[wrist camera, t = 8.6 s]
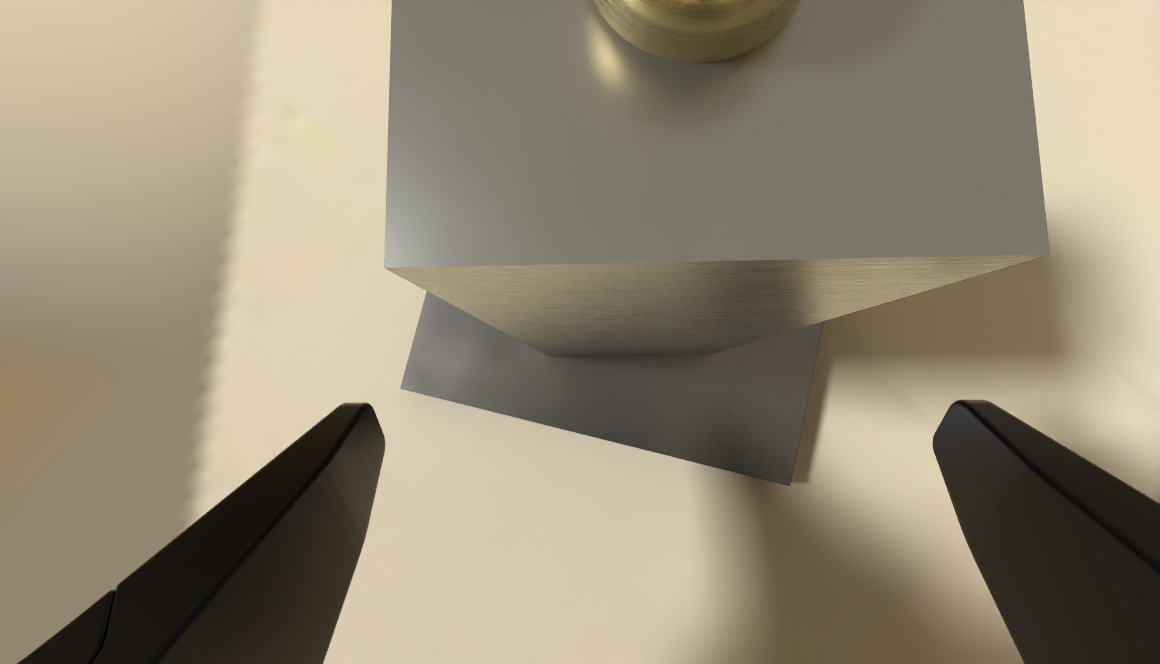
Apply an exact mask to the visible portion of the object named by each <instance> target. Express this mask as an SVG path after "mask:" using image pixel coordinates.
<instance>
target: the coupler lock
mask: <svg viewBox="0 0 1160 664" xmlns="http://www.w3.org/2000/svg"><path fill="white" fill-rule="evenodd" d="M1049 254H1050V252H1049V243H1048V233H1047V223H1046V214H1045V204H1044V195H1043V185H1042V176H1041V166H1040V157H1039V147H1038V137H1037V128H1036V118H1035V109H1034V99H1033V90H1032V80H1031V71H1030V61H1029V51H1028V42H1027V32H1026V23H1025V13H1024V4H1023V0H392V18H391V52H390V86H389V121H388V155H387V190H386V224H385V259H384V268H385V269H387V270H389V271H391V272H393V273H395V274H397V275H398V276H400V277H402V278H404V279H406V280H408V281H410V282H411V283H413V284H415V285H417V286H419V287H421V288H423V289H424V290H426V291H428V292H430V293H432V294H434V295H436V296H437V297H439V298H441V299H443V300H445V301H447V302H448V303H450V304H452V305H454V306H456V307H458V308H460V309H461V310H463V311H465V312H467V313H469V314H471V315H473V316H474V317H476V318H478V319H480V320H482V321H484V322H486V323H487V324H489V325H491V326H493V327H495V328H497V329H499V330H500V331H502V332H504V333H506V334H508V335H510V336H511V337H513V338H515V339H517V340H519V341H521V342H523V343H524V344H526V345H528V346H530V347H532V348H534V349H536V350H537V351H539V352H541V353H543V354H545V355H547V356H584V355H663V354H714V353H718V352H721V351H724V350H728V349H731V348H734V347H738V346H741V345H745V344H748V343H751V342H755V341H758V340H762V339H765V338H768V337H772V336H775V335H778V334H782V333H785V332H789V331H792V330H795V329H799V328H802V327H806V326H809V325H812V324H816V323H819V322H822V321H826V320H829V319H833V318H836V317H839V316H843V315H846V314H850V313H853V312H856V311H860V310H863V309H867V308H870V307H873V306H877V305H880V304H883V303H887V302H890V301H894V300H897V299H900V298H904V297H907V296H911V295H914V294H917V293H921V292H924V291H927V290H931V289H934V288H938V287H941V286H944V285H948V284H951V283H955V282H958V281H961V280H965V279H968V278H971V277H975V276H978V275H982V274H985V273H988V272H992V271H995V270H999V269H1002V268H1005V267H1009V266H1012V265H1015V264H1019V263H1022V262H1026V261H1029V260H1032V259H1036V258H1039V257H1043V256H1046V255H1049Z"/></svg>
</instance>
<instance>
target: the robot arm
mask: <svg viewBox="0 0 1160 664" xmlns="http://www.w3.org/2000/svg"><path fill="white" fill-rule="evenodd" d="M933 449H934V453H935V456H936V459H937V461H938V464H939V467H940V470H941V473H942V475H943V478H944V481H945V484H946V487H947V490H948V492H949V495H950V498H951V501H952V504H953V506H954V509H955V512H956V515H957V518H958V520H959V523H960V526H961V529H962V531H963V534H964V536H965V539H966V541H967V544H968V546H969V548H970V551H971V553H972V555H973V557H974V560H975V562H976V564H977V566H978V568H979V570H980V572H981V574H982V576H983V578H984V580H985V582H986V585H987V587H988V589H989V591H990V593H991V595H992V597H993V599H994V601H995V603H996V605H997V607H998V610H999V612H1000V614H1001V616H1002V618H1003V620H1004V622H1005V624H1006V626H1007V628H1008V630H1009V632H1010V634H1011V637H1012V639H1013V641H1014V643H1015V645H1016V647H1017V649H1018V651H1019V653H1020V655H1021V657H1022V659H1023V662H1024V664H1160V503H1158V502H1156V501H1155V500H1153V499H1151V498H1150V497H1148V496H1146V495H1145V494H1143V493H1141V492H1140V491H1138V490H1136V489H1135V488H1133V487H1131V486H1130V485H1128V484H1126V483H1125V482H1123V481H1121V480H1120V479H1118V478H1116V477H1115V476H1113V475H1111V474H1110V473H1108V472H1106V471H1105V470H1103V469H1101V468H1100V467H1098V466H1096V465H1095V464H1093V463H1091V462H1090V461H1088V460H1086V459H1085V458H1083V457H1081V456H1080V455H1078V454H1076V453H1075V452H1073V451H1071V450H1070V449H1068V448H1066V447H1065V446H1063V445H1061V444H1060V443H1058V442H1056V441H1055V440H1053V439H1051V438H1050V437H1048V436H1046V435H1045V434H1043V433H1041V432H1040V431H1038V430H1036V429H1035V428H1033V427H1031V426H1030V425H1028V424H1026V423H1025V422H1023V421H1021V420H1020V419H1018V418H1016V417H1015V416H1013V415H1011V414H1010V413H1008V412H1006V411H1005V410H1003V409H1001V408H1000V407H998V406H996V405H995V404H993V403H991V402H989V401H986V400H958V401H956V402H954V403H953V404H952V405H951V406H950V408H949V409H948V411H947V413H946V415H945V416H944V418H943V420H942V422H941V423H940V425H939V427H938V429H937V430H936V432H935V434H934V437H933ZM384 452H385V438H384V434H383V432H382V429H381V427H380V424H379V422H378V419H377V417H376V414H375V411H374V409H373V407H372V406H371V405H370V404H369V403H344V404H341V405H340V406H338V407H337V408H336V409H335V410H333V411H332V412H331V413H330V414H328V415H327V416H326V417H325V418H323V419H322V420H321V421H320V422H318V423H317V424H316V425H315V426H313V427H312V428H311V429H310V430H309V431H307V432H306V433H305V434H304V435H302V436H301V437H300V438H299V439H297V440H296V441H295V442H294V443H292V444H291V445H290V446H289V447H287V448H286V449H285V450H284V451H283V452H281V453H280V454H279V455H278V456H276V457H275V458H274V459H273V460H271V461H270V462H269V463H268V464H266V465H265V466H264V467H263V468H261V469H260V470H259V471H258V472H256V473H255V474H254V475H253V476H252V477H250V478H249V479H248V480H247V481H245V482H244V483H243V484H242V485H240V486H239V487H238V488H237V489H235V490H234V491H233V492H232V493H230V494H229V495H228V496H227V497H226V498H224V499H223V500H222V501H221V502H219V503H218V504H217V505H216V506H214V507H213V508H212V509H211V510H209V511H208V512H207V513H206V514H204V515H203V516H202V517H201V518H200V519H198V520H197V521H196V522H195V523H193V524H192V525H191V526H190V527H188V528H187V529H186V530H185V531H183V532H182V533H181V534H180V535H179V536H177V537H176V538H175V539H173V540H172V541H171V542H170V543H169V544H167V545H166V546H165V547H164V548H162V549H161V550H160V551H159V552H157V553H156V554H155V555H154V556H153V557H151V558H150V559H149V560H147V561H146V562H145V563H144V564H143V565H141V566H140V567H139V568H138V569H136V570H135V571H134V572H133V573H131V574H130V575H129V576H128V577H127V578H125V579H124V580H123V581H121V582H120V583H119V584H118V585H117V588H116V590H110V591H109V592H108V593H106V594H105V595H104V596H103V597H101V598H100V599H99V600H98V601H96V602H95V603H94V604H93V605H91V606H90V607H89V608H88V609H86V610H85V611H84V612H83V613H82V614H80V615H79V616H78V617H77V618H75V619H74V620H73V621H71V622H70V623H69V624H68V625H66V626H65V627H64V628H63V629H61V630H60V631H59V632H57V633H56V634H55V635H54V636H52V637H51V638H50V639H48V640H47V641H46V642H45V643H43V644H42V645H41V646H40V647H38V648H37V649H36V650H34V651H33V652H32V653H31V654H29V655H28V656H27V657H25V658H24V659H23V660H21V661H20V662H19V663H17V664H323V662H324V660H325V657H326V654H327V651H328V648H329V645H330V642H331V639H332V636H333V633H334V630H335V627H336V624H337V621H338V618H339V615H340V612H341V609H342V607H343V604H344V601H345V598H346V595H347V592H348V589H349V586H350V583H351V580H352V577H353V574H354V571H355V568H356V565H357V562H358V559H359V556H360V553H361V550H362V547H363V544H364V541H365V537H366V533H367V529H368V525H369V520H370V516H371V511H372V506H373V502H374V497H375V493H376V488H377V484H378V479H379V475H380V470H381V466H382V461H383V456H384Z"/></svg>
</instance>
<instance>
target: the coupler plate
mask: <svg viewBox="0 0 1160 664" xmlns="http://www.w3.org/2000/svg"><path fill="white" fill-rule="evenodd" d="M822 324H823V321H822V322H819V323H816V324H812V325H809V326H806V327H802V328H799V329H795V330H792V331H789V332H785V333H782V334H778V335H775V336H772V337H768V338H765V339H762V340H758V341H755V342H751V343H748V344H745V345H741V346H738V347H734V348H731V349H728V350H724V351H721V352H718V353H714V354H663V355H584V356H547V355H545V354H543V353H541V352H539V351H537V350H536V349H534V348H532V347H530V346H528V345H526V344H524V343H523V342H521V341H519V340H517V339H515V338H513V337H511V336H510V335H508V334H506V333H504V332H502V331H500V330H499V329H497V328H495V327H493V326H491V325H489V324H487V323H486V322H484V321H482V320H480V319H478V318H476V317H474V316H473V315H471V314H469V313H467V312H465V311H463V310H461V309H460V308H458V307H456V306H454V305H452V304H450V303H448V302H447V301H445V300H443V299H441V298H439V297H437V296H436V295H434V294H432V293H430V292H428V291H427V292H426V296H425V300H424V303H423V307H422V311H421V314H420V318H419V322H418V325H417V329H416V333H415V337H414V340H413V344H412V348H411V351H410V355H409V359H408V362H407V366H406V370H405V373H404V377H403V381H402V384H401V388H400V389H404V390H408V391H412V392H416V393H420V394H424V395H428V396H432V397H436V398H440V399H444V400H448V401H452V402H456V403H460V404H464V405H468V406H472V407H476V408H480V409H484V410H488V411H492V412H496V413H500V414H504V415H508V416H512V417H516V418H520V419H524V420H528V421H532V422H536V423H540V424H544V425H548V426H552V427H556V428H560V429H564V430H568V431H572V432H576V433H580V434H584V435H588V436H592V437H596V438H600V439H604V440H608V441H612V442H616V443H620V444H624V445H628V446H632V447H636V448H640V449H644V450H648V451H652V452H656V453H660V454H664V455H668V456H672V457H676V458H680V459H684V460H688V461H692V462H696V463H700V464H704V465H708V466H712V467H716V468H720V469H724V470H728V471H732V472H736V473H740V474H744V475H748V476H752V477H756V478H760V479H764V480H768V481H772V482H776V483H780V484H784V485H788V486H790V484H791V479H792V474H793V469H794V464H795V459H796V454H797V449H798V444H799V439H800V434H801V429H802V424H803V419H804V414H805V409H806V404H807V399H808V394H809V389H810V384H811V379H812V374H813V369H814V364H815V359H816V354H817V349H818V344H819V339H820V334H821V329H822Z"/></svg>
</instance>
